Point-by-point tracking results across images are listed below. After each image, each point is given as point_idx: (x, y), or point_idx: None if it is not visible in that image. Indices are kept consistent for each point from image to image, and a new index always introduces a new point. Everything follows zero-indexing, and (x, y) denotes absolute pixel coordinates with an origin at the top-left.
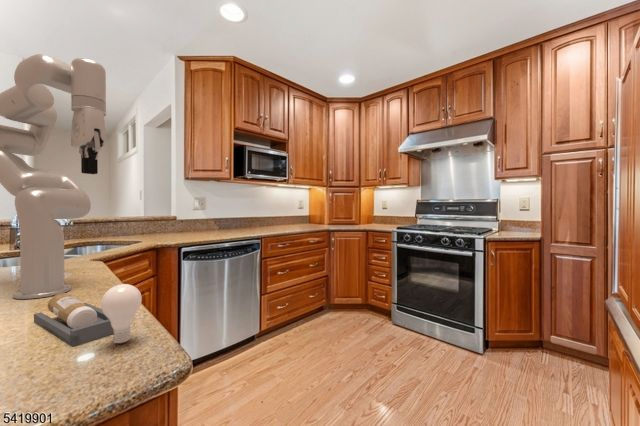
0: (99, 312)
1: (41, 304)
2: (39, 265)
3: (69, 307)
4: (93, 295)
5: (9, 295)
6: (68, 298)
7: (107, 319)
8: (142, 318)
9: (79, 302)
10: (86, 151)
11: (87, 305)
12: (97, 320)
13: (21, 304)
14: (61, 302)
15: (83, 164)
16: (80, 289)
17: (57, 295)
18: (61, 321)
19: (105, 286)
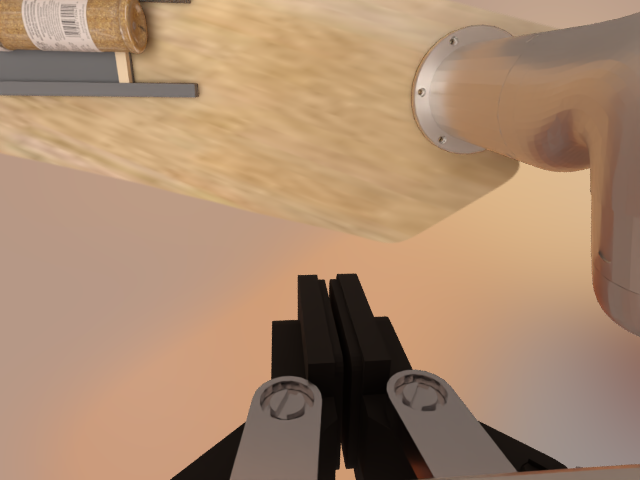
0: (70, 82)
1: (347, 51)
2: (468, 72)
3: (13, 4)
4: (325, 160)
5: (531, 31)
6: (68, 20)
7: (29, 81)
8: (17, 143)
9: (28, 31)
10: (240, 457)
11: (159, 89)
12: (55, 70)
13: (393, 20)
14: (63, 3)
15: (309, 314)
16: (424, 165)
17: (118, 11)
18: None
19: (398, 215)
